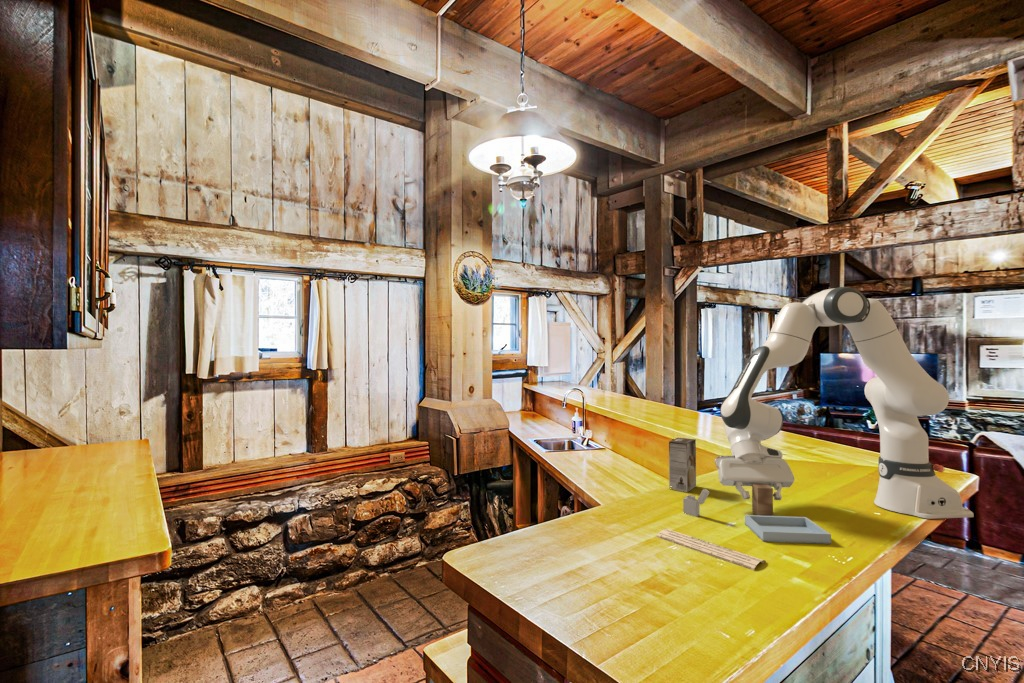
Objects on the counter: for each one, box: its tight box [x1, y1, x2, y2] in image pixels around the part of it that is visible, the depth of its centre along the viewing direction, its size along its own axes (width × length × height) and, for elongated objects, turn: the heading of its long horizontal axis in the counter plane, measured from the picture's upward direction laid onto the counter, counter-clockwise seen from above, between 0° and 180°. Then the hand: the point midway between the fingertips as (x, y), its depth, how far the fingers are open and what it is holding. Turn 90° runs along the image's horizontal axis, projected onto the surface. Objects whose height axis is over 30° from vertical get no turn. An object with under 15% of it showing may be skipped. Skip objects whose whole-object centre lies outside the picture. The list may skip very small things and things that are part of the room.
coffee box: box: [668, 437, 697, 493], centre depth 161 cm, size 9×6×16 cm
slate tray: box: [744, 514, 832, 545], centre depth 122 cm, size 16×12×2 cm
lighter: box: [682, 488, 710, 518], centre depth 134 cm, size 7×2×8 cm, turn 41°
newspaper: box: [656, 528, 766, 572], centre depth 113 cm, size 24×7×2 cm, turn 41°
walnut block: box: [751, 484, 774, 516], centre depth 136 cm, size 4×4×8 cm
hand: (762, 498), depth 135 cm, fingers open, 7 cm apart
